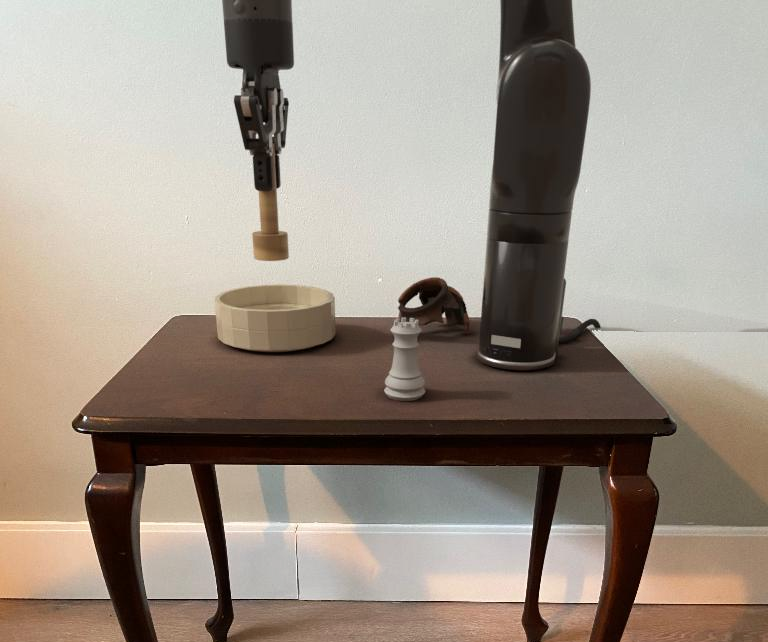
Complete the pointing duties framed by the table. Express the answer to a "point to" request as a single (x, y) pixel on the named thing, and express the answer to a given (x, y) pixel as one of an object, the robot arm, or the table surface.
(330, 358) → the table surface
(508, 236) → the robot arm
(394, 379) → the rook chess piece
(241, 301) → the bowl
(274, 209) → the muddler
